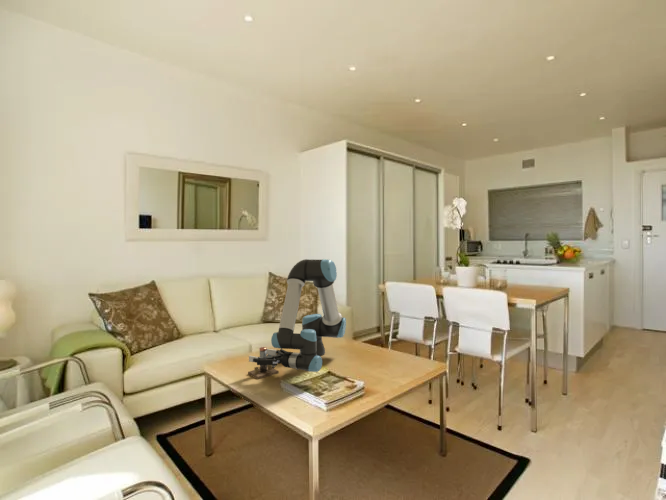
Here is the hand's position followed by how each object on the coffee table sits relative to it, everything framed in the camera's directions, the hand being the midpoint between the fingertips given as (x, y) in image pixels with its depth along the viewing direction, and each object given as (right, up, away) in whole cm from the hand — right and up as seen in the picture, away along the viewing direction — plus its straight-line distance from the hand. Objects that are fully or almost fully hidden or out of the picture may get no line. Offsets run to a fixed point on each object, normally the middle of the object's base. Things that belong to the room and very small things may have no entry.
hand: (257, 354), depth 195 cm
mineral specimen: (+6, -9, +12) cm, 16 cm away
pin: (+3, -8, -1) cm, 9 cm away
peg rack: (+3, -9, -1) cm, 10 cm away
